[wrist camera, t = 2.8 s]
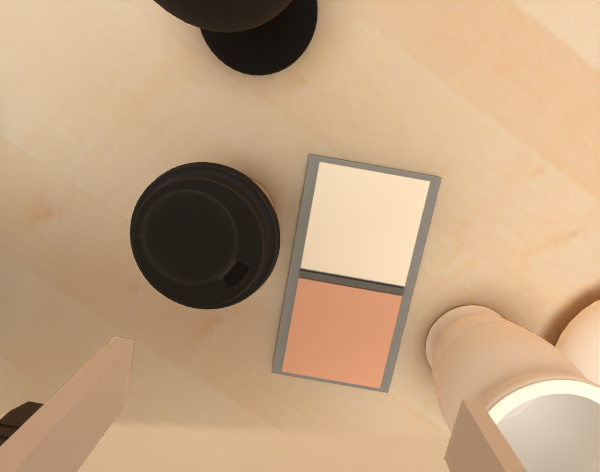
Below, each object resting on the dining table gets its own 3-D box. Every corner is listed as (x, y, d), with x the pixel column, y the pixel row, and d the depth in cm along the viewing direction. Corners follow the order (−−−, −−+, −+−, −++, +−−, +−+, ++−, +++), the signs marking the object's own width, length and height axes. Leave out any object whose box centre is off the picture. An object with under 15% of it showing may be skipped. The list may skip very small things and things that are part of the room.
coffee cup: (279, 264, 40) (259, 334, 25) (184, 243, 39) (108, 300, 25) (301, 169, 38) (293, 184, 23) (201, 146, 37) (129, 146, 23)
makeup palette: (272, 367, 42) (271, 375, 41) (309, 153, 37) (309, 154, 36) (386, 387, 42) (389, 395, 41) (438, 176, 37) (443, 178, 36)
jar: (473, 407, 42) (558, 546, 28) (393, 356, 41) (437, 471, 27) (542, 329, 40) (672, 435, 26) (458, 273, 39) (545, 349, 25)
